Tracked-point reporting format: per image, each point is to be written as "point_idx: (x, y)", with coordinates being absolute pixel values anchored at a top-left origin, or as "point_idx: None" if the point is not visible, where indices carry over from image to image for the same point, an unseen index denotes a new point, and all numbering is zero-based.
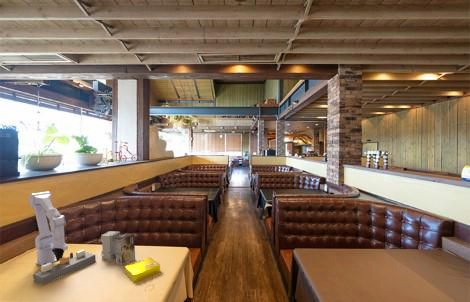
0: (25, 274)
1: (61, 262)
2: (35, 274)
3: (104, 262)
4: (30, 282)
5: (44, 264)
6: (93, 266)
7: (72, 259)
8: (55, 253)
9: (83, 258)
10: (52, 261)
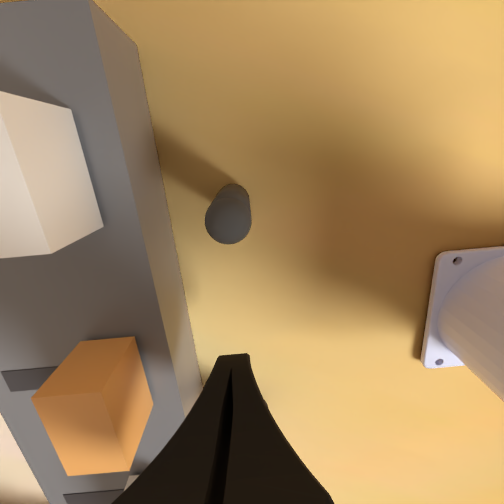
0: (439, 65)
1: (81, 357)
2: (39, 8)
3: (21, 496)
4: (146, 9)
5: (211, 208)
6: (12, 443)
7: (149, 436)
8: (232, 449)
9: (72, 487)
10: (439, 331)
